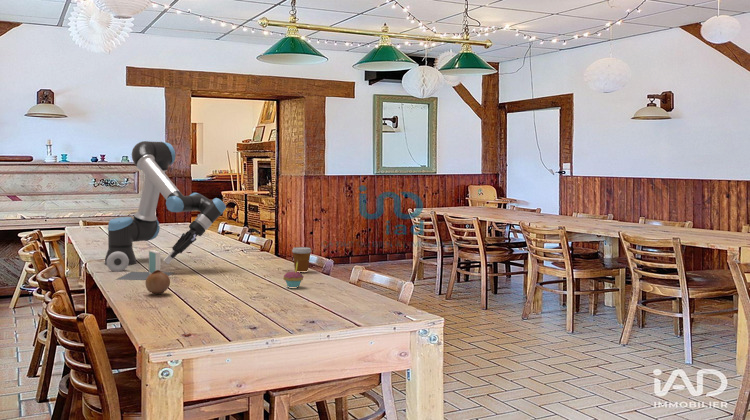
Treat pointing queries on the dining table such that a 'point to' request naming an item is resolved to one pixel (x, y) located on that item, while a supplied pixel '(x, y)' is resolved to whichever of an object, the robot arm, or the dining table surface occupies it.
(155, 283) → the onion
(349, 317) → the dining table surface
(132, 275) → the mat
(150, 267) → the board
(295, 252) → the disposable coffee cup
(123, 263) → the donut
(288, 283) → the cupcake
